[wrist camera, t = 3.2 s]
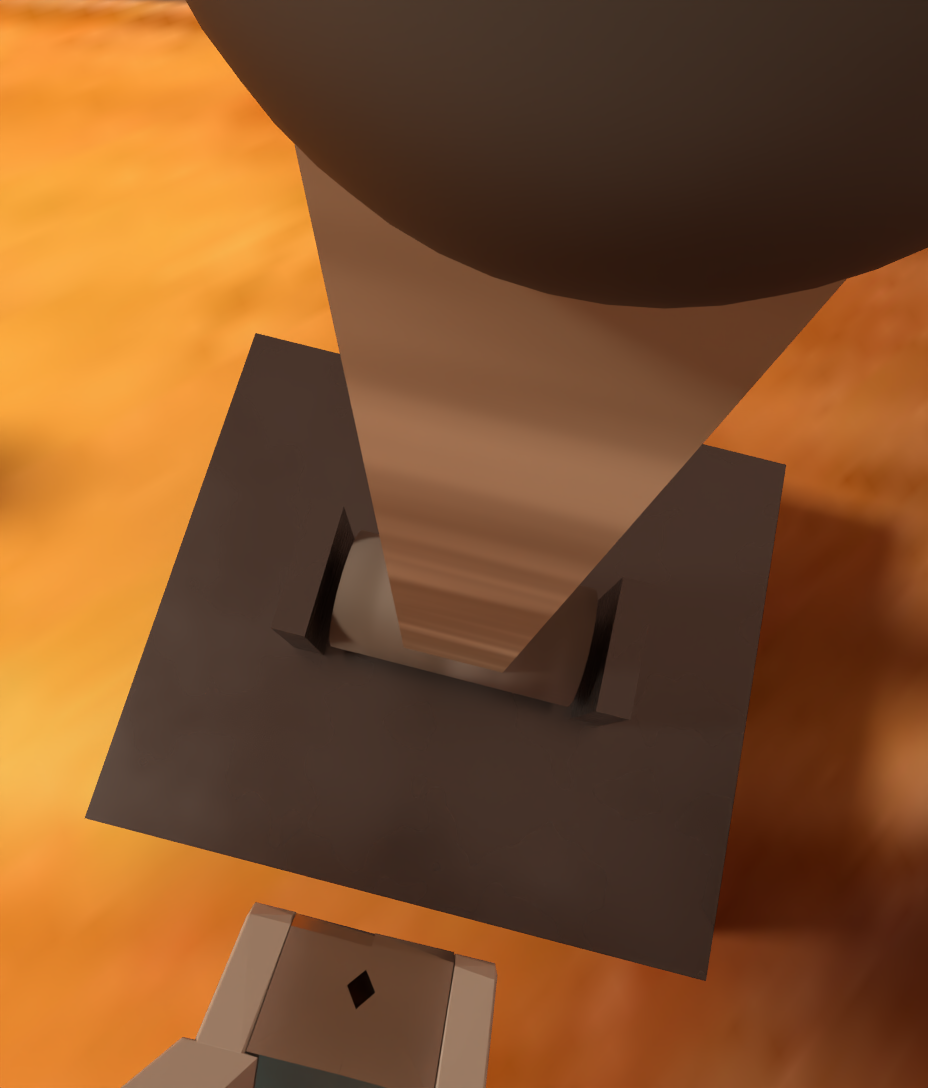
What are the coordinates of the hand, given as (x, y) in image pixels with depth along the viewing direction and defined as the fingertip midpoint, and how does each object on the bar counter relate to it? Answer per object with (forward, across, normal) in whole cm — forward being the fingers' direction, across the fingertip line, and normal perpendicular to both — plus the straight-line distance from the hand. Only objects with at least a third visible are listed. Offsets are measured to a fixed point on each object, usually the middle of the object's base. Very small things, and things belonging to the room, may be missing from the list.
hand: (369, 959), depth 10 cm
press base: (+16, 0, +8) cm, 18 cm away
